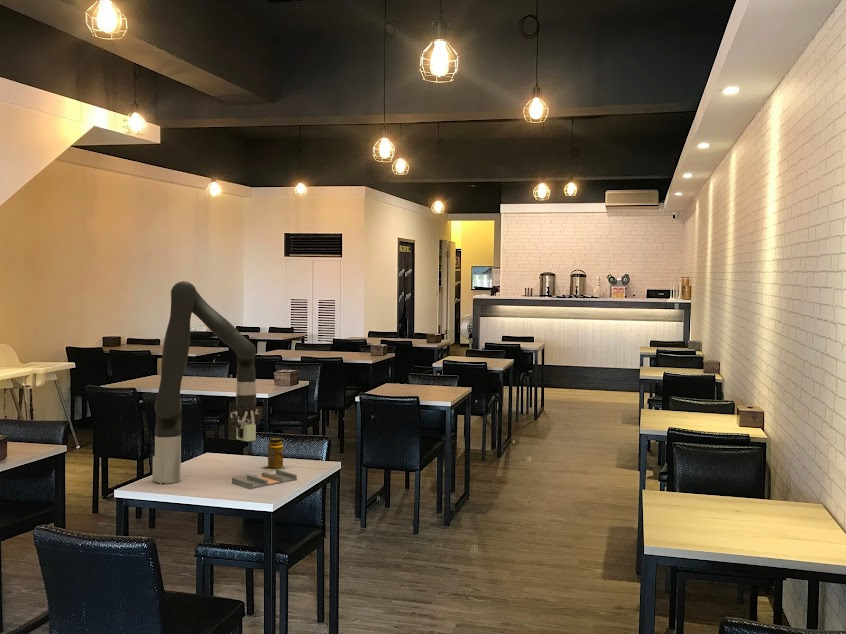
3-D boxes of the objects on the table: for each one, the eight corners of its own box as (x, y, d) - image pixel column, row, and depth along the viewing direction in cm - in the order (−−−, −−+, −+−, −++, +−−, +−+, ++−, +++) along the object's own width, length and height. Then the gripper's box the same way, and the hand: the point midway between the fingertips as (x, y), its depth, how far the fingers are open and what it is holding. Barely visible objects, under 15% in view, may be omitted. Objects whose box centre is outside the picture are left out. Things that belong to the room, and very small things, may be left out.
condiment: (287, 468, 313) (287, 438, 313) (269, 471, 308) (269, 441, 307) (277, 465, 319) (277, 436, 318) (259, 468, 313) (259, 438, 312)
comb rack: (250, 489, 278) (250, 483, 278) (231, 483, 286) (231, 477, 286) (296, 479, 293) (296, 474, 293) (277, 474, 301) (278, 469, 301)
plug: (246, 441, 292) (246, 425, 292) (236, 439, 297) (236, 423, 297) (255, 440, 295) (255, 424, 295) (245, 437, 300) (245, 422, 300)
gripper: (256, 390, 303) (255, 434, 304) (224, 393, 293) (224, 438, 293) (267, 392, 298) (267, 436, 298) (235, 395, 288) (235, 441, 288)
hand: (246, 437), depth 296 cm, fingers closed on plug, 4 cm apart
